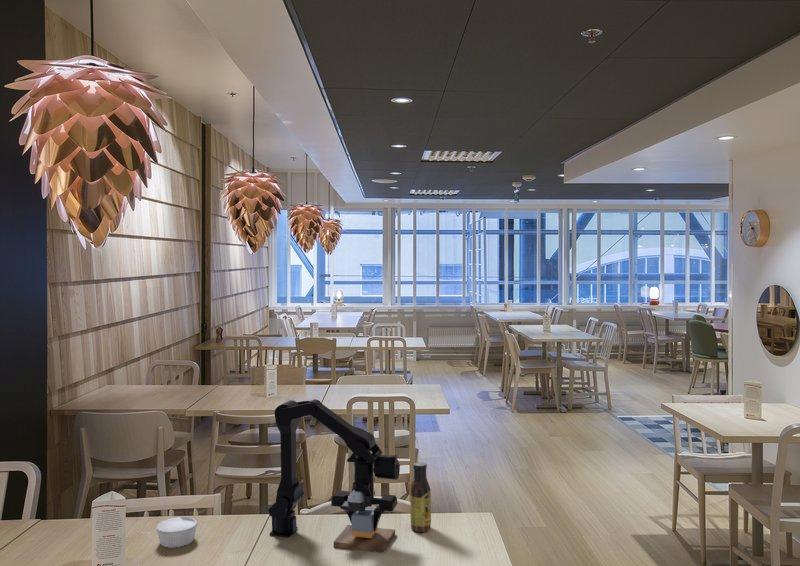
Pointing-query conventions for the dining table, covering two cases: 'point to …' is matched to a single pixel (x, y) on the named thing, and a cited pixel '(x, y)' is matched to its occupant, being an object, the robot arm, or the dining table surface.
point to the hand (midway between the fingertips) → (364, 529)
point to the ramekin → (176, 531)
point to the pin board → (365, 540)
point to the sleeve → (363, 523)
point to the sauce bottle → (420, 499)
